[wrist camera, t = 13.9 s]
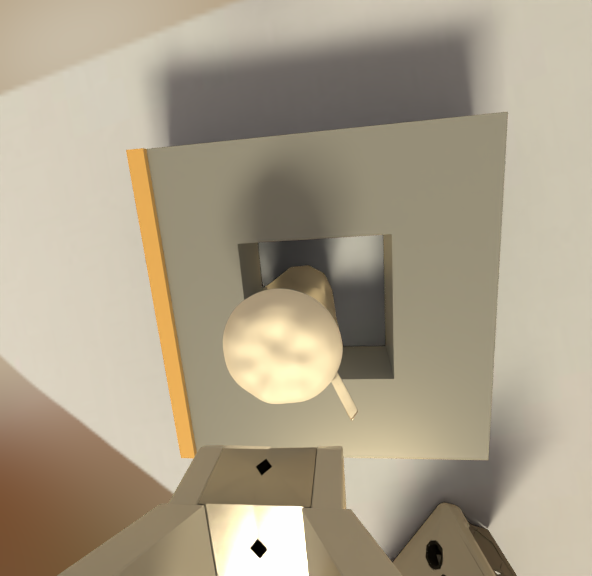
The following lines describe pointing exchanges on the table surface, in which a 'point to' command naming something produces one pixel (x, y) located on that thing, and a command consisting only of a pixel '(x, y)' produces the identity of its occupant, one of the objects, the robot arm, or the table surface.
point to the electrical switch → (452, 548)
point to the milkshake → (287, 340)
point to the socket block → (332, 224)
